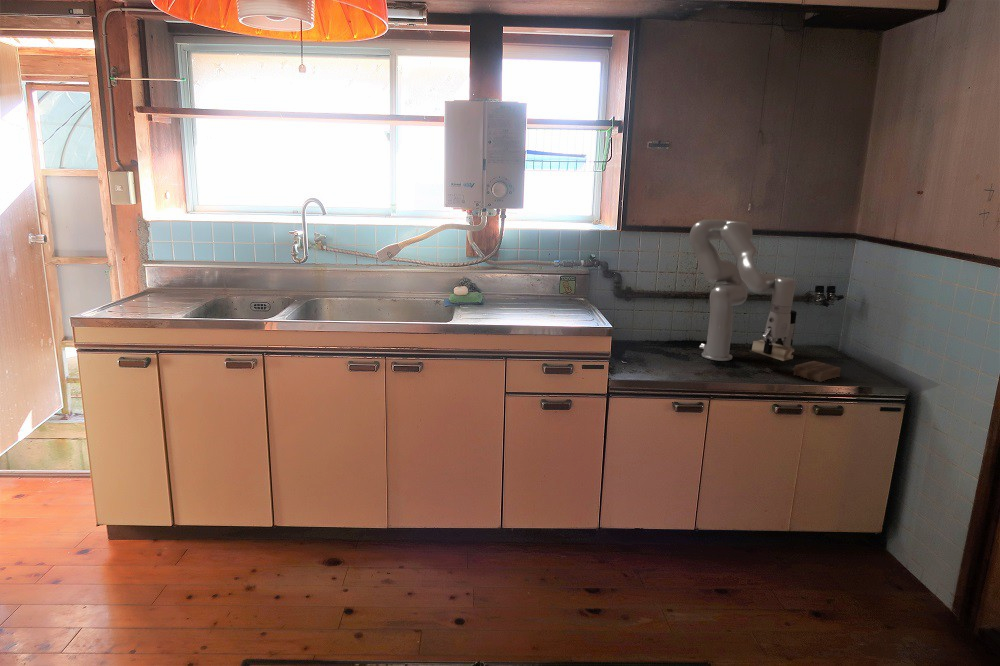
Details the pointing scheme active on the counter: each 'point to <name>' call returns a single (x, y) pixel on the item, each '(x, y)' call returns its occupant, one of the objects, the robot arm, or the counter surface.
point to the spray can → (789, 338)
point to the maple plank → (774, 350)
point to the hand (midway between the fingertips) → (772, 352)
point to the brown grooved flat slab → (816, 371)
